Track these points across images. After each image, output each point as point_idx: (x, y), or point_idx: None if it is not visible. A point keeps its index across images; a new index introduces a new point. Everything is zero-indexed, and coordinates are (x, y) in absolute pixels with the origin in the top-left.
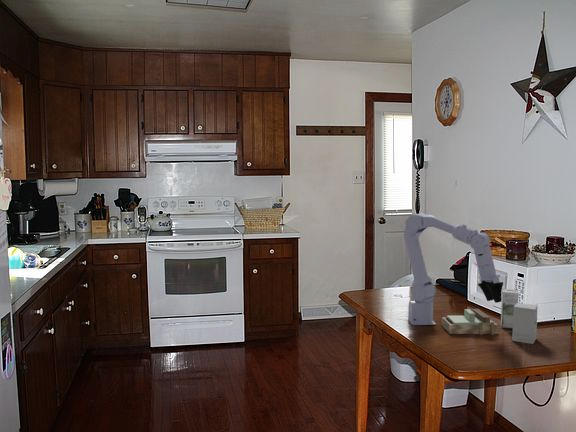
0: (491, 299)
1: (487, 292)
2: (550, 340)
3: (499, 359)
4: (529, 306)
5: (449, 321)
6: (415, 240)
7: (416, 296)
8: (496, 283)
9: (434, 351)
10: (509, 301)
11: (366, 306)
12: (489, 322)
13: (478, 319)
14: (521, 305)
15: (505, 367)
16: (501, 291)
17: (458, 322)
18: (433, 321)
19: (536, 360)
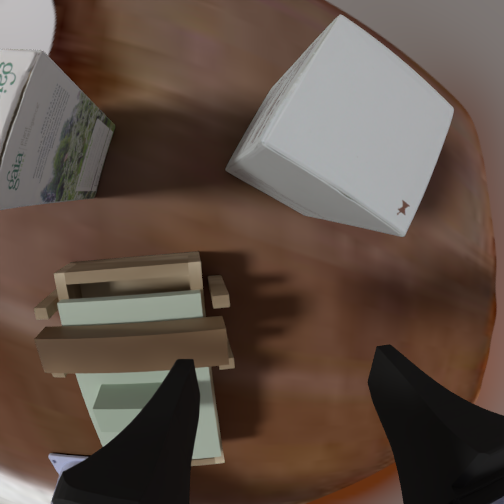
0: (194, 377)
1: (185, 448)
2: (289, 44)
3: (456, 318)
4: (398, 102)
5: None
6: None
7: None
8: (501, 479)
9: (377, 461)
10: (46, 148)
11: None
12: (222, 319)
13: None
14: (375, 152)
15: (489, 313)
16: (451, 392)
17: (217, 444)
18: (84, 459)
19: (471, 213)
